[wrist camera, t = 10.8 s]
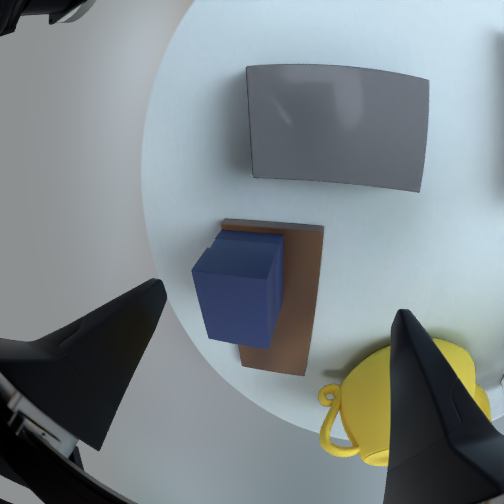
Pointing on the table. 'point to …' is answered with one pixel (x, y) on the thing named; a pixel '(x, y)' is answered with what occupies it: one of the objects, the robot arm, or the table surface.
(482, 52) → the table surface
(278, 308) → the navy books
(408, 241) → the table surface
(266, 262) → the navy block
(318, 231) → the board
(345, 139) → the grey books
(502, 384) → the can
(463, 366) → the teapot
